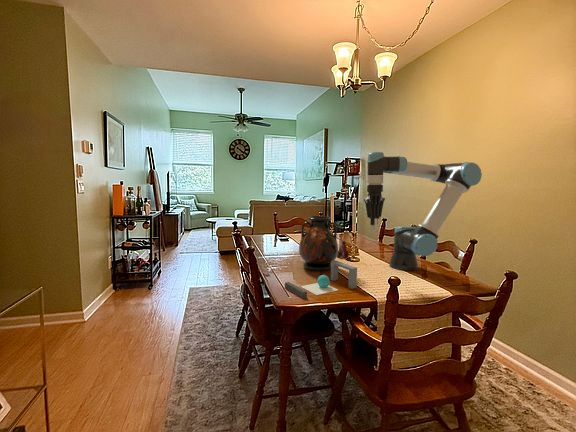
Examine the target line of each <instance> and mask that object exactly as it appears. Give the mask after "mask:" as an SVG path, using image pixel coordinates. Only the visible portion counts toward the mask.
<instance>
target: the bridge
mask: <svg viewBox="0 0 576 432" xmlns="http://www.w3.org/2000/svg"><path fill="white" fill-rule="evenodd" d="M339 267H340V268H343V269H345V270H347V271H348V288H349V289H357V284H358V283H357V281H358V267H356V266H353V265H350V264H348V263H345V262H341V261H340V260H339V261H338V260H336V259H335V260H334V261H331V269H330V278H329V280H330V281H332V282H333V281H334V282H335V281H339Z"/></svg>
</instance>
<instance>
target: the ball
mask: <svg viewBox="0 0 576 432" xmlns="http://www.w3.org/2000/svg"><path fill="white" fill-rule="evenodd" d="M316 283H318V285H319V286H320V287H323V288H325V287H327V286H328V285H329V286H330V283H331V280H330V278H329V276H327V275H325V274H322V275H319V276H318V278H317V281H316Z"/></svg>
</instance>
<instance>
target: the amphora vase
mask: <svg viewBox="0 0 576 432" xmlns="http://www.w3.org/2000/svg"><path fill="white" fill-rule="evenodd" d="M307 220H308V221H304V222H303V223H302V224H301V236H300V238H301V239H300V240H299V241H300V242H299V245H298V253H299V256H300V258H301V259H302V260H303V264H302V266H303V268H304V269H306V270H309V271H313V272H326V271H331V261H335V260H336V259H337V255H338V251H339V242H338V240H337V239H338V237H337V236H338V228H337V225H336V223H335V222H331V221H332V218H331V217H330V216H324V215H312V216H308V217H307ZM309 221H310V222H309ZM329 221H330V222H329ZM328 222H329V223H328ZM305 225H308V227H309V229H308V230H307V231H306V232H305V230H304V228H305ZM331 225H332V226H333V228H334V234H333V233H332V231H331V230H330V229H329V228H330V226H331Z"/></svg>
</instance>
